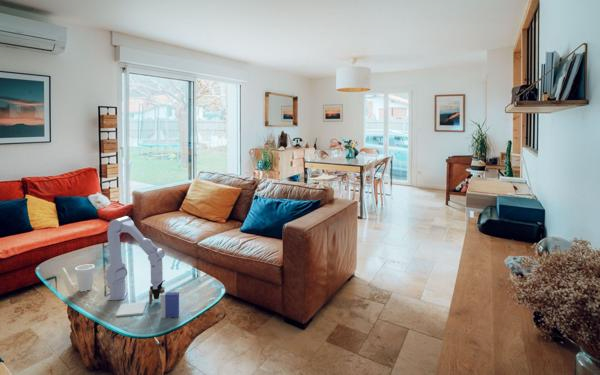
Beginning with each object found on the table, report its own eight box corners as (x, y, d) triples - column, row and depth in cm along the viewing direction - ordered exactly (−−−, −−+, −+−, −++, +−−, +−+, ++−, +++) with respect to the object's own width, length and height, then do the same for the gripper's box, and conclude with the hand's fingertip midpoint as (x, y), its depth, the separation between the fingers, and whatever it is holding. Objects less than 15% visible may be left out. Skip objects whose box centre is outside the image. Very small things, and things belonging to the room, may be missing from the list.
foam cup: (84, 285, 199) (83, 263, 198) (99, 286, 198) (98, 264, 197) (71, 292, 190) (70, 269, 188) (86, 293, 189) (86, 270, 187)
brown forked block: (150, 300, 184) (150, 287, 183) (164, 299, 186) (164, 286, 185) (149, 304, 179) (149, 291, 179) (163, 302, 181) (163, 290, 180)
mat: (121, 305, 177) (121, 304, 177) (146, 303, 180) (146, 301, 180) (115, 316, 165) (115, 315, 165) (142, 314, 169) (142, 312, 169)
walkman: (179, 314, 169) (179, 291, 168) (177, 317, 167) (177, 294, 165) (162, 315, 169) (162, 291, 167) (161, 317, 166) (160, 294, 164)
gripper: (163, 276, 175) (163, 302, 176) (166, 266, 189) (166, 290, 190) (148, 277, 173) (148, 303, 174) (152, 267, 187) (152, 291, 188)
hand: (157, 296), depth 182 cm, fingers closed on brown forked block, 4 cm apart
